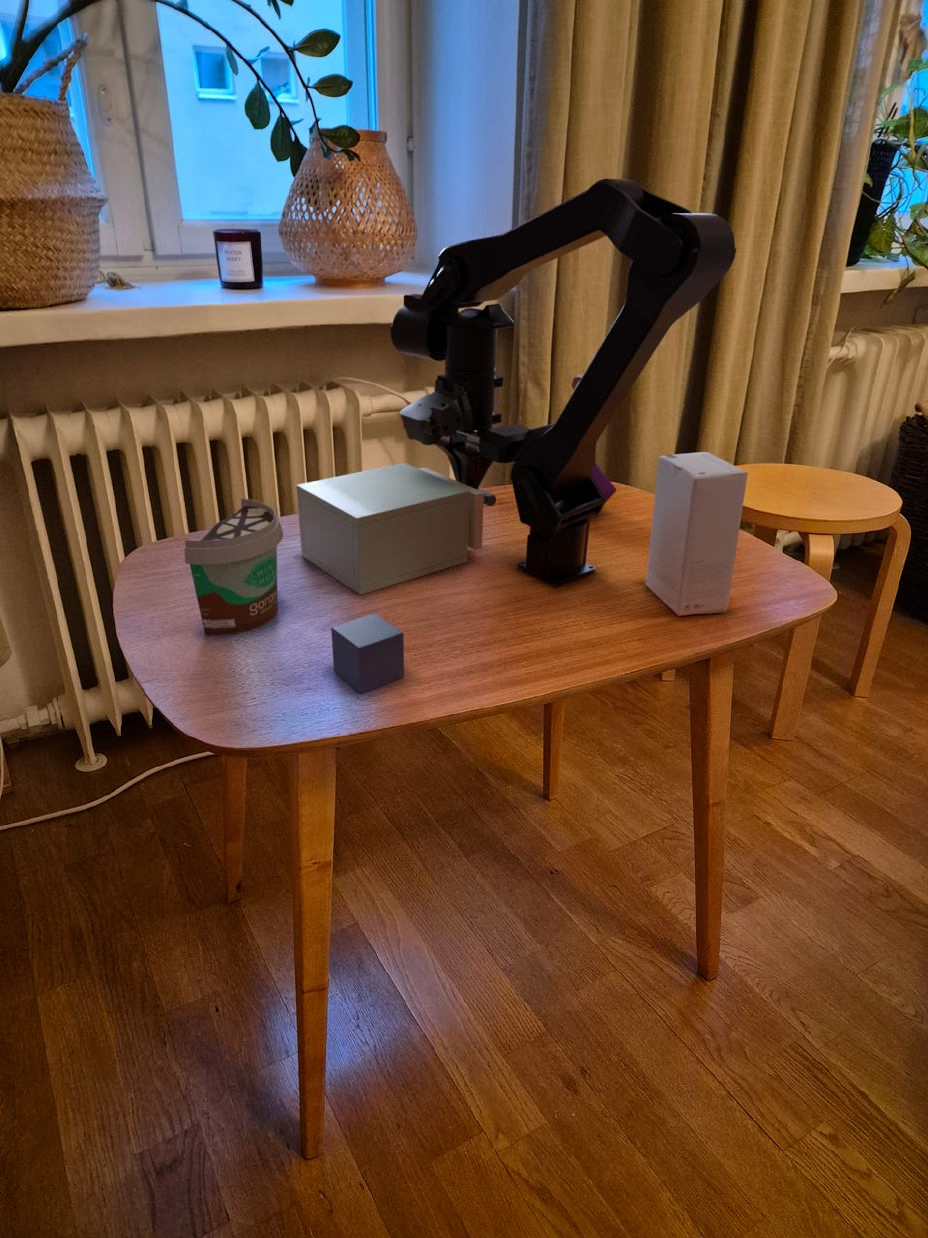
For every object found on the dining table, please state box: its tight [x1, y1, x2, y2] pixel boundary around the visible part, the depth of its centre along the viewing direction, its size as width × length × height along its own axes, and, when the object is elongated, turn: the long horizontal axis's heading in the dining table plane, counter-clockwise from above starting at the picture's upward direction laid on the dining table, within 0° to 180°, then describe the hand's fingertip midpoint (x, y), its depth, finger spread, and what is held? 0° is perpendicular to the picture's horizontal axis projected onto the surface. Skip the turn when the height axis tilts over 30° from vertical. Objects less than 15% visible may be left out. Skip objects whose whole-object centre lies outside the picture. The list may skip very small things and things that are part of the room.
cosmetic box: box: [645, 451, 749, 617], centre depth 81 cm, size 8×6×15 cm
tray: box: [418, 466, 497, 551], centre depth 93 cm, size 18×11×7 cm, turn 129°
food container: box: [184, 497, 284, 636], centre depth 77 cm, size 12×6×10 cm, turn 168°
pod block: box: [330, 612, 405, 694], centre depth 69 cm, size 4×4×4 cm
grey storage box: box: [296, 462, 469, 596], centre depth 90 cm, size 15×13×9 cm
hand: (466, 499), depth 97 cm, fingers closed
